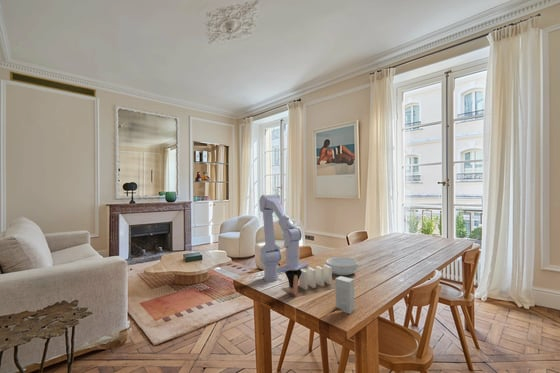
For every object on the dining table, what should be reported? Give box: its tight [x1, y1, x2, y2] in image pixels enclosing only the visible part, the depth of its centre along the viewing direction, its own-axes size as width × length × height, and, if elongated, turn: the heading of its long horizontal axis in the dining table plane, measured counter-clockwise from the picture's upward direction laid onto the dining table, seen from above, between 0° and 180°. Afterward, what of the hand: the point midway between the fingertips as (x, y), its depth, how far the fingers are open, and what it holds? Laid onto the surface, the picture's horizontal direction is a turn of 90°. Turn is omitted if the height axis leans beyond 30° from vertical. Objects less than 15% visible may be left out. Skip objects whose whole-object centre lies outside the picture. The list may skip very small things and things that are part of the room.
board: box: [282, 281, 336, 299], centre depth 117 cm, size 26×11×1 cm, turn 114°
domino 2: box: [306, 266, 316, 288], centre depth 119 cm, size 2×5×8 cm, turn 24°
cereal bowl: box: [325, 256, 359, 276], centre depth 138 cm, size 17×17×7 cm
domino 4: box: [322, 264, 333, 285], centre depth 123 cm, size 2×5×8 cm, turn 24°
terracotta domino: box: [288, 274, 299, 295], centre depth 110 cm, size 2×5×8 cm, turn 25°
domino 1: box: [298, 269, 308, 290], centre depth 117 cm, size 2×5×8 cm, turn 24°
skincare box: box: [334, 275, 356, 315], centre depth 98 cm, size 6×4×12 cm
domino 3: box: [314, 265, 324, 286], centre depth 121 cm, size 2×5×8 cm, turn 24°
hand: (293, 287), depth 110 cm, fingers closed on terracotta domino, 1 cm apart
